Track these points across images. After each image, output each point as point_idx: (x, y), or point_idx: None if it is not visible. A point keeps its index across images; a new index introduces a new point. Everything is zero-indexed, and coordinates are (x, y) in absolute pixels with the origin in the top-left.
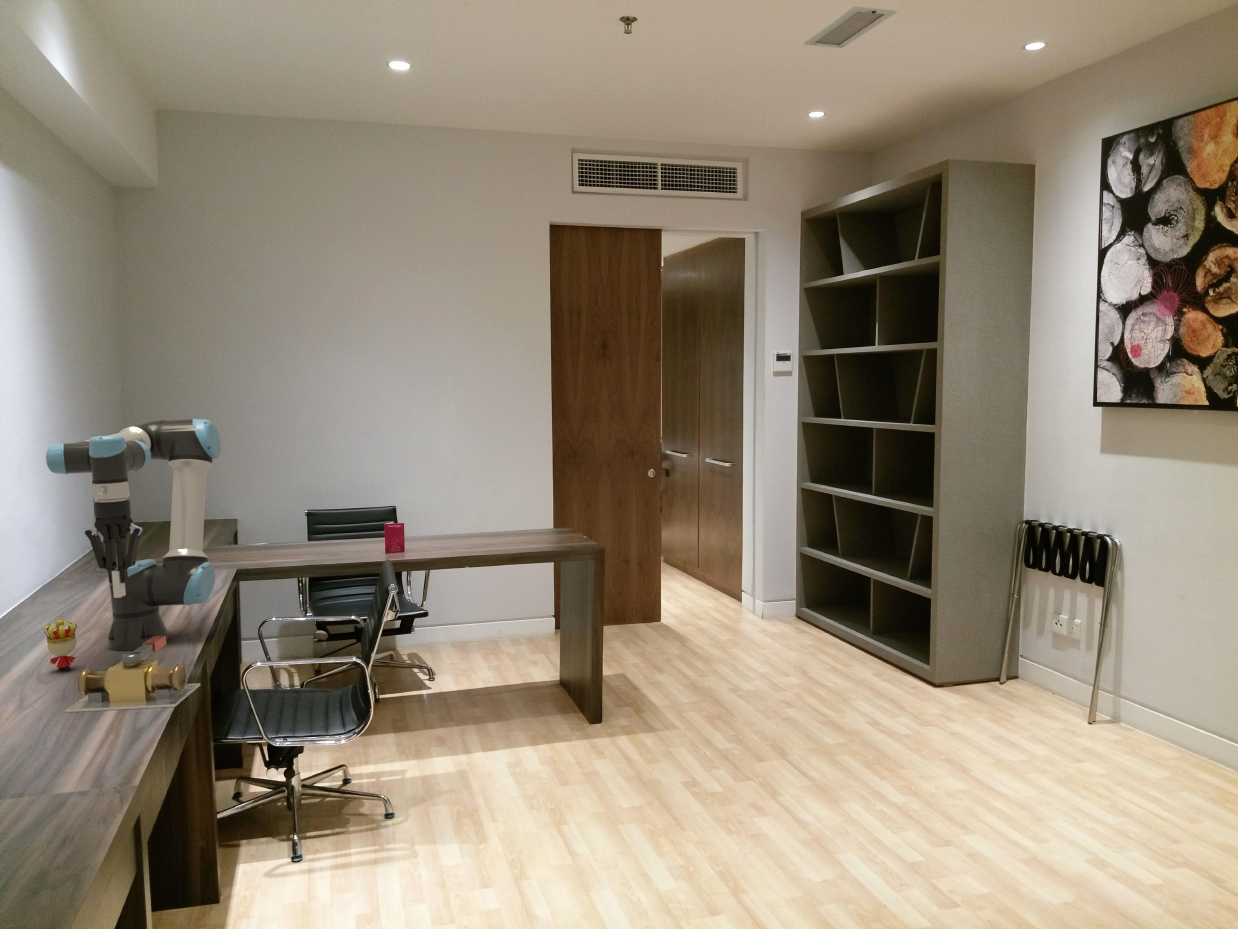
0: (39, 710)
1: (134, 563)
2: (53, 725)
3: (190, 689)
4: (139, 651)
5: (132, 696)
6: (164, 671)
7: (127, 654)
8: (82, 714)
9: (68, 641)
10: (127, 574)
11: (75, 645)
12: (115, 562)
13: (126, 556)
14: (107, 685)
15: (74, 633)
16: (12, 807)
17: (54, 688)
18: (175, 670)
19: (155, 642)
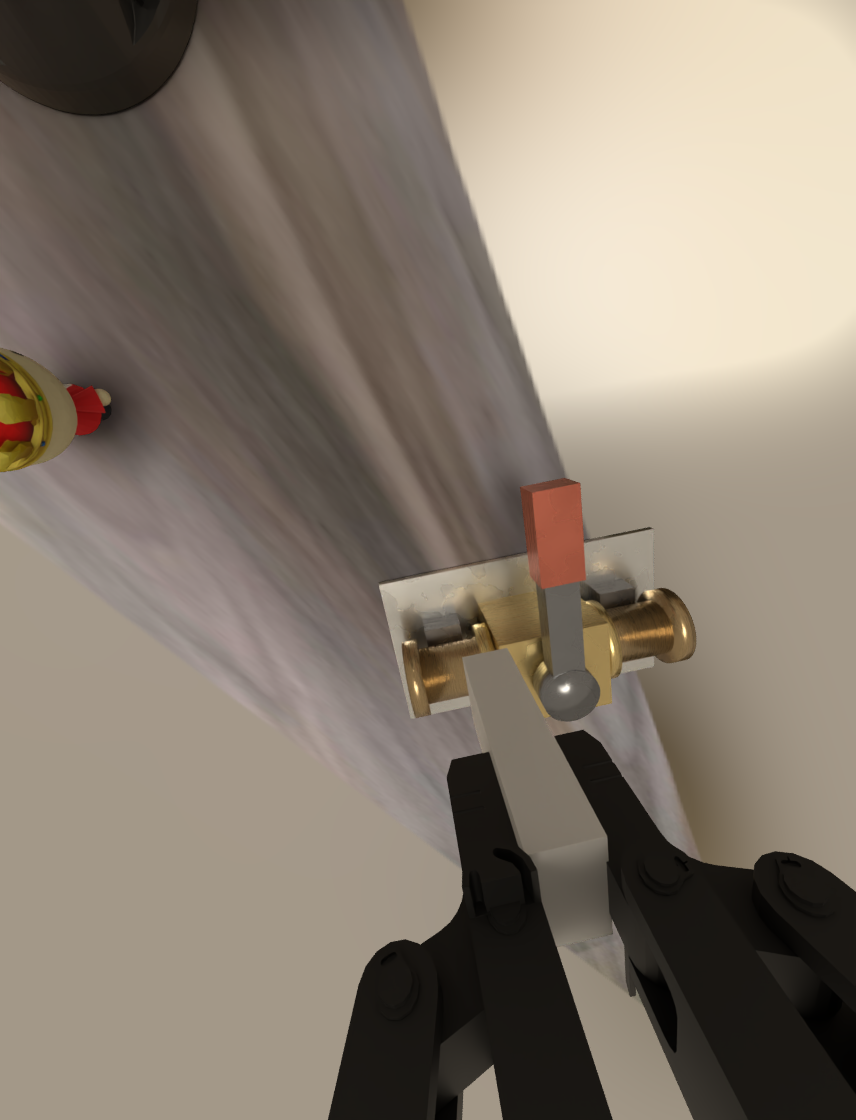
0: (335, 711)
1: (835, 899)
2: (441, 771)
3: (648, 576)
4: (577, 663)
5: None
6: (644, 656)
7: (557, 698)
8: (461, 719)
9: (48, 427)
10: (629, 789)
11: (59, 383)
12: (570, 1007)
13: (846, 1103)
14: None
15: (8, 373)
16: (595, 966)
17: (229, 575)
18: (682, 660)
19: (585, 572)
